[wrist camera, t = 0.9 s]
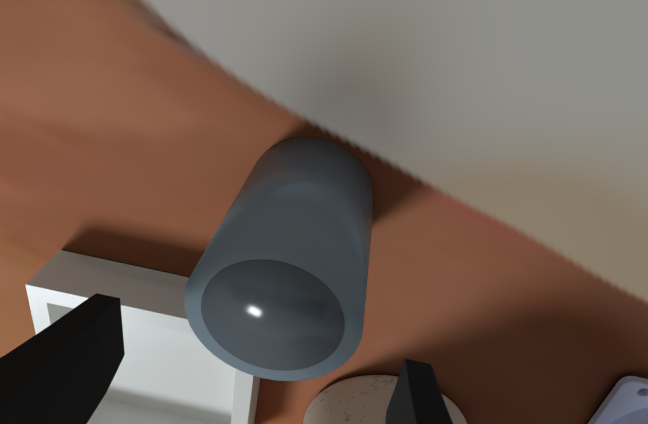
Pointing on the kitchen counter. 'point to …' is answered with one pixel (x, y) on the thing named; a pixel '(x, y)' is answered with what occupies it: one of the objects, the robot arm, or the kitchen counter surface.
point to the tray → (147, 345)
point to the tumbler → (288, 265)
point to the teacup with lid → (361, 402)
